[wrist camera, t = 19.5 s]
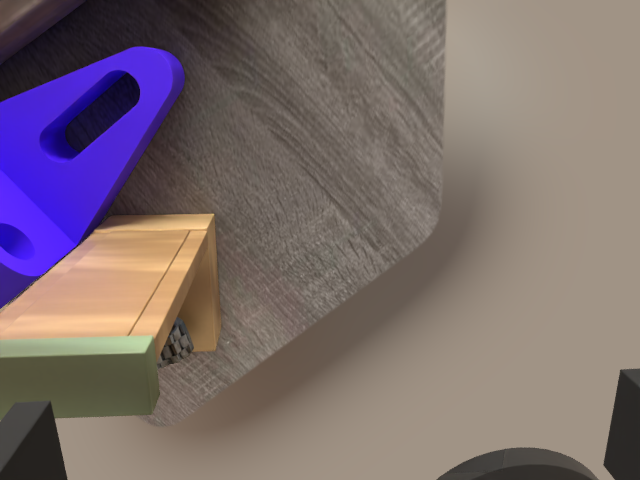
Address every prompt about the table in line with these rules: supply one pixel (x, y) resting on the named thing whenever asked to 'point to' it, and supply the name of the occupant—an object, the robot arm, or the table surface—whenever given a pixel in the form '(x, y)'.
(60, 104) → the bracket
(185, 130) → the table surface
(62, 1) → the book
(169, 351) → the wristwatch
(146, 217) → the two-tone angled block
